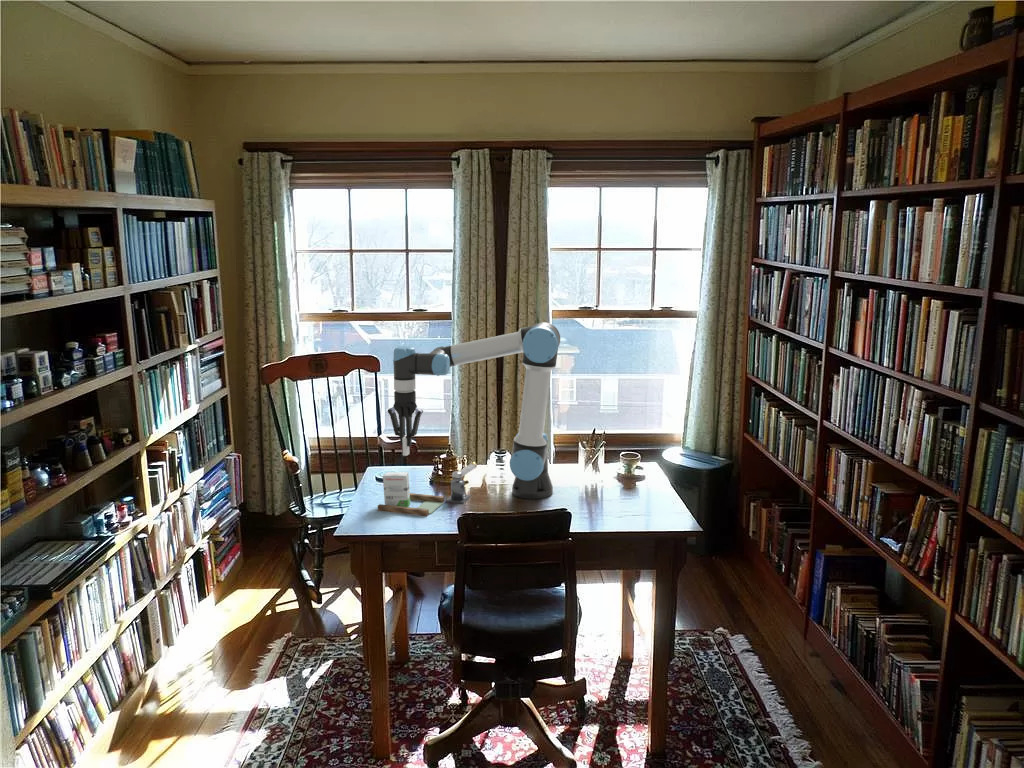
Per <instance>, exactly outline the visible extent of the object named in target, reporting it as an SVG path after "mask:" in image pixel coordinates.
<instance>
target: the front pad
mask: <svg viewBox="0 0 1024 768" xmlns="http://www.w3.org/2000/svg"><path fill="white" fill-rule="evenodd" d="M443 505H444V502H443V503H442V502H432V501H423V502H422V503H421V504H419V506H417V507H416V508H421V509H429V515H432V514H433V513H434V512H435V511H437V510H438V509H439V508H441V506H443Z"/></svg>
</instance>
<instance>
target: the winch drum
mask: <svg viewBox="0 0 1024 768" xmlns="http://www.w3.org/2000/svg"><path fill="white" fill-rule="evenodd" d="M465 488H466V487H465V480H464V479H463V478H462V479H452V480H450V495H449V497H447V498H446V499H445V503H454V504H465V503H466V502H467V501H468V500H469V499H470V498H471V496H472V495H470V494H466V492H465V491H466V490H465Z"/></svg>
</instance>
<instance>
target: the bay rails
mask: <svg viewBox="0 0 1024 768" xmlns="http://www.w3.org/2000/svg"><path fill="white" fill-rule="evenodd" d="M410 501H418V502H425V501H432V502H442V503H443V504H444V503H445V496H443V495H441V496H440V495H433V494H423V493H413V492H412V493H411V492H410ZM377 512H384V513H392V514H403V515H412V516H421V517H428V516H429V515H430V514H429V509H421V508H417V507H409V506H408V507H402V506H392V505H385V504H381V503H379V504H378V505H377Z"/></svg>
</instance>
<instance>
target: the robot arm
mask: <svg viewBox="0 0 1024 768" xmlns="http://www.w3.org/2000/svg"><path fill="white" fill-rule="evenodd" d="M560 343H561V334H560V331H559V329H558V328H557V327H556V326H555V325H553V324H552V323H549V322H546V321H545V322H544V321H543V322H538V323H534V324H533V325H529V326H525V327H521V328H519V330H518V331H515V332H510V333H506V334H501V335H497V336H492V337H486V338H481V339H476V340H472V341H468V342H467V341H466V342H463V343H457V344H452V345H447V346H444V345H443V346H438V347H435V348H434V349H433V350H432V351H430V352H429V353H420V352H416V350H415V349H416V348H415V347H414V346H405V345H403V346H397V347H395V348H394V349H393V359H392V361H393V363H392V364H393V389H394V392H393V396H394V398H393V400H394V403H393V407H392V406H391V407H390V408H388V409H387V414H388V415H389V416H390V421H391V425H392V428H393V433H394V435H395V436H397V437H399V443H400V444H399V445H400V446H401V447H402V456H403V457H407V456H408V455H411V453H410V447H411V446H412V444H413V443H412V438H413V437H416V435H417V434H418V429H419V425H420V420H421V416H422V414H423V413H424V410H423V409H419V408H418V405H417V402H416V400H417V399H416V398H417V397H416V396H417V395H416V375H422V376H425V375H426V376H437V377H439V376H447V375H449V372H450V368H452V367H455V366H458V365H459V366H460V365H465V364H468V363H469V364H470V363H471V364H472V363H475V362H480V361H486V360H490V359H496V358H501V357H505V356H509V355H510V356H511V355H515V354H520V353H522V362H521V364H522V366H524V367H525V373H524V383H523V392H522V401H521V411H520V417H519V418H520V420H519V421H520V422H519V428H518V429H519V430H518V433H516V436H514V438H513V442H512V453H511V456H510V459H509V467H510V471H511V472H512V475H513V476H514V480H513V483H512V487H511V488H512V489H511V491H512V495H513V496H515V497H516V498H519V499H526V500H537V499H538V500H539V499H544V498H547V497H549V496H551V495H552V494H553V493H554V491H553V490H554V489H553V488H554V487H553V483H552V480H551V477H550V474H549V469H548V468H549V467H548V466H549V464H548V463H549V461H548V460H549V458H548V457H549V455H548V454H549V453H548V442H549V439H548V434H546V433H545V432H544V431H545V423H546V414H547V406H548V397H549V391H550V389H549V388H550V380H551V372H552V370H553V369H555V368H556V367H557V360H558V352H559V346H560ZM414 414H415V415H414ZM397 415H398V416H397ZM413 415H414V419H412V418H413ZM412 422H413V423H412ZM412 424H413V425H412Z"/></svg>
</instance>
